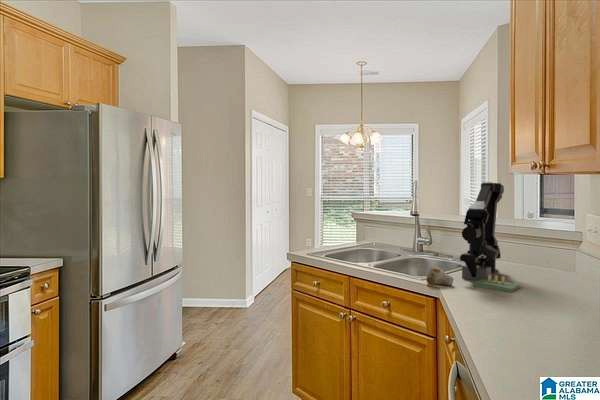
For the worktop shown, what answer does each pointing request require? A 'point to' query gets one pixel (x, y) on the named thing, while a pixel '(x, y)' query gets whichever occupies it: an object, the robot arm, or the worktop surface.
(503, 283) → the board
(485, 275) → the block
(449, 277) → the grey lumpy rounded lump
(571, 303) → the worktop surface
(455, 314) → the worktop surface
